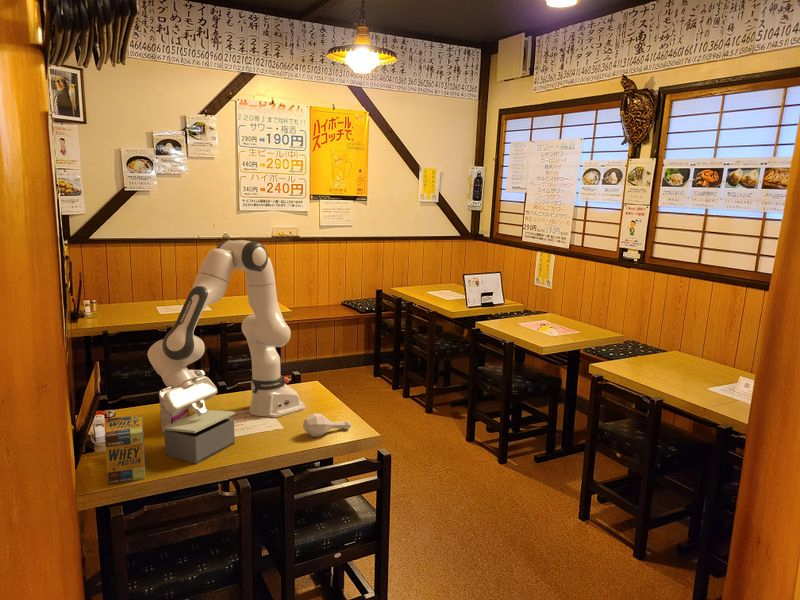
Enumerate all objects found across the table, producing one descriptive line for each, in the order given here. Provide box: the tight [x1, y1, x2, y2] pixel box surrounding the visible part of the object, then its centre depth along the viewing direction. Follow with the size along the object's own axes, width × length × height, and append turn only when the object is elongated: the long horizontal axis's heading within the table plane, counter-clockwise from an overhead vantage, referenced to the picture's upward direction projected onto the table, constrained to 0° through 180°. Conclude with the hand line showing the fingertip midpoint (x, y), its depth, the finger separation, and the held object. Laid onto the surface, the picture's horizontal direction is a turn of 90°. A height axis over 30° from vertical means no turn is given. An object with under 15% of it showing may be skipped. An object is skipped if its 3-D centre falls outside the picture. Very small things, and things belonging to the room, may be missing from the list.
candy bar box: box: [158, 390, 190, 434], centre depth 217 cm, size 11×5×16 cm, turn 168°
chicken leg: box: [302, 413, 352, 438], centre depth 217 cm, size 8×18×8 cm, turn 121°
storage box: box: [163, 417, 236, 465], centre depth 200 cm, size 14×18×9 cm
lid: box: [163, 409, 236, 433], centre depth 199 cm, size 14×19×1 cm
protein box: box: [104, 414, 146, 485], centre depth 183 cm, size 10×15×16 cm
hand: (203, 414), depth 198 cm, fingers closed
